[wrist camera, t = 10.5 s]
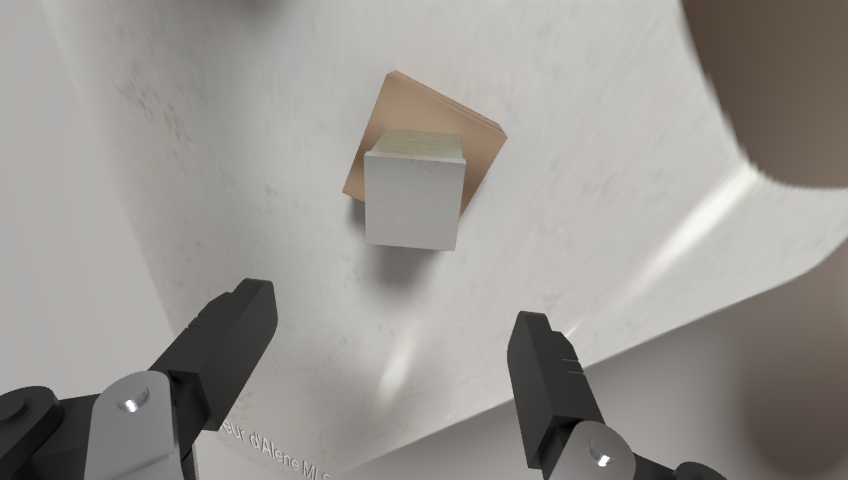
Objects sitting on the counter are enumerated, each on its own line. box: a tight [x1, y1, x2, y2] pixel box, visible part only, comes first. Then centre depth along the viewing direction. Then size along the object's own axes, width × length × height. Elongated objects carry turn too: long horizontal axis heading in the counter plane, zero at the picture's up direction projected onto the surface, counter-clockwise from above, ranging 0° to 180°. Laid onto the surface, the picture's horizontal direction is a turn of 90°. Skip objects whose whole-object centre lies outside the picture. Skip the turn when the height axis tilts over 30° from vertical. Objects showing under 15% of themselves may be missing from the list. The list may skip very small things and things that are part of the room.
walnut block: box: [342, 70, 507, 218], centre depth 27 cm, size 9×9×5 cm
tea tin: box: [364, 129, 466, 251], centre depth 22 cm, size 5×5×7 cm
